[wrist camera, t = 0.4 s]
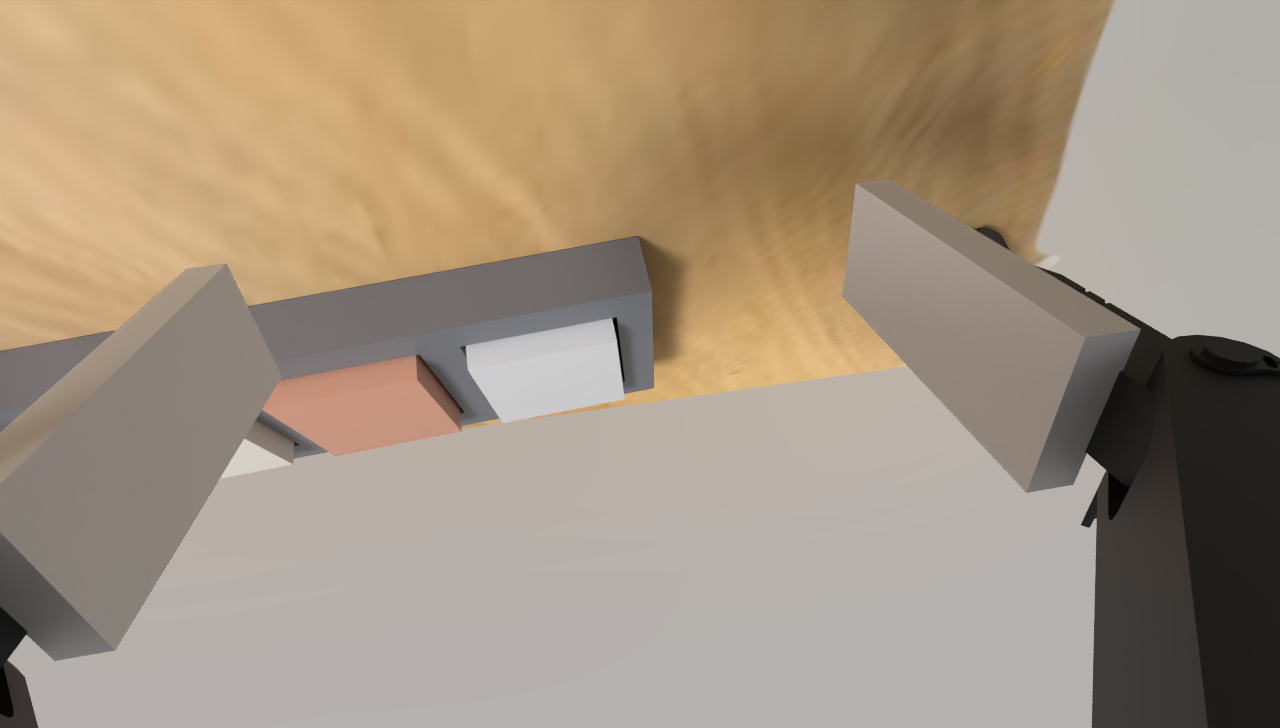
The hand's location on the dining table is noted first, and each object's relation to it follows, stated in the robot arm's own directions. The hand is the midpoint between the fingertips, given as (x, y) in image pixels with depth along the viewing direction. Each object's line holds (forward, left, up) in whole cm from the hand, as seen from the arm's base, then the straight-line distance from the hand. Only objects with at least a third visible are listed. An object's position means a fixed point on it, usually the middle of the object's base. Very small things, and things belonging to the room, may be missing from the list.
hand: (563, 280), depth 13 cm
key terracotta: (+26, -15, -13) cm, 32 cm away
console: (+26, -15, -15) cm, 34 cm away
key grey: (+26, -3, -13) cm, 29 cm away
